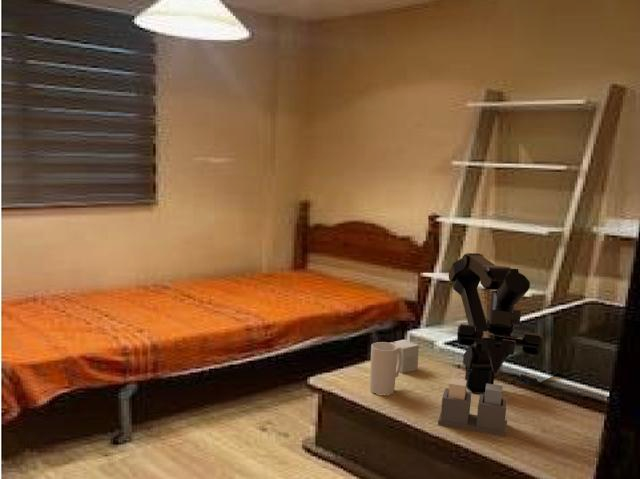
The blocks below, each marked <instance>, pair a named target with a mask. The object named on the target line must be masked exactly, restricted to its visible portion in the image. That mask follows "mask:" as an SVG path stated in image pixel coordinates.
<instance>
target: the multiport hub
mask: <svg viewBox="0 0 640 479" xmlns="http://www.w3.org/2000/svg"><path fill="white" fill-rule="evenodd" d="M519 382H520V383H522V384H526V385H528V386H531V387H536V386H537V385H539V382H538V381H537V379H536V378H533V377H530V376H527V375H523V373H521V374H520V375H519Z"/></svg>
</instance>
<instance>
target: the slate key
mask: <svg viewBox="0 0 640 479" xmlns="http://www.w3.org/2000/svg"><path fill="white" fill-rule="evenodd" d="M484 394H485V399H484V403H486V404H492V405H499V406H501V398H502V397H503V396H502V395H503V385H499V384H487V383H486V388H485V393H484Z"/></svg>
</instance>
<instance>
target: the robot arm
mask: <svg viewBox="0 0 640 479" xmlns="http://www.w3.org/2000/svg"><path fill="white" fill-rule="evenodd" d="M448 281H449V282H450V284H451V286H452V288H453V290H454V291H455V292H456V293H458V294H459V295H460V297H461V301H462V306H463V309H464V312H465V317H466V321H467V324H466V323H465V324H464V323H463V324H462V323H461V324H459V325H458V327H457V332H456V334H457V335H456V336H457V337H456V338H457V344H458V345H459V346H460V345H461V346H465V347H467V348H466V351H465V352H463V356H462V357H463V364H464V365H465V367H466V368H467V369H466V370H465V373H464V374H465V377H464V378H465V379H464V380H467V385H466V389H468V390H469V392H471V394H485V388H486V383H487V384H494V382H495V375H498V373H499V371H500V370H501V368H502V366H503V363H504V362H505V361H506V360H507V359H508V357H509V356H510V355H511V356H514V355H515V349H516V346H517V347H522V348H521V349H522V352H523V353H524V354H525V355H532V356H540V355H541V350H542V344H543V337H542V335H541V334H540V333H535V332H534V333H533V332H527V331H525V332H523V337H521V336H520V337H518V336H513V333H514V326H520V324H521V314H522V310H519V309H515V306H516V305H517V304H518V303H520V302H521V300H522V299H523V298H524V296H525V295H526V294H527V292H528V291H529V290H530V287H531V283H530V280H529V279H528V278H527V276H526V275H524V274H523V273H521V272H520V271H519V269H518V268H511V267H509V266H505V265H496V264H494V263H493V262H492V261H490V260H489V259H487V258H486V257H484V255H483V254H481V253H473V252H471V253H470V252H468V253H464V254H463V255H462V257H461V258H460V259H458V260H456V261H454V262H453V263H452V264H451V267H450V269H449V271H448ZM479 285H481V286H482V287H483V289H484V290H486V291H492V293H491V294H490V305H489V312H488V318H487V319H486V316H485V312H484V309H483V304H482V301H481V297H480V295H479V291H478V287H479ZM494 385H495V384H494Z"/></svg>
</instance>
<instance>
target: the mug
mask: <svg viewBox="0 0 640 479" xmlns="http://www.w3.org/2000/svg"><path fill="white" fill-rule="evenodd" d="M370 348H371V349H370V373H369V374H370V375H369V377H370V378H369V391H370V392H371V393H372V392H373V393H372V394H374V393H376V394H385V395H386V396H389V395H388V394H391V395H393V394H394V393H395V386H396V378H398V377H399V374H400V373H401V372H400V368H401V364H402V353H401V350H400V347H399V346H397V345H395V344H392V343H390V342H386V341H380V342H379V341H377V342H374V343H372V344H371V347H370ZM397 355H398V364H397ZM396 365H397V367H396ZM376 394H375V395H376Z"/></svg>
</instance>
